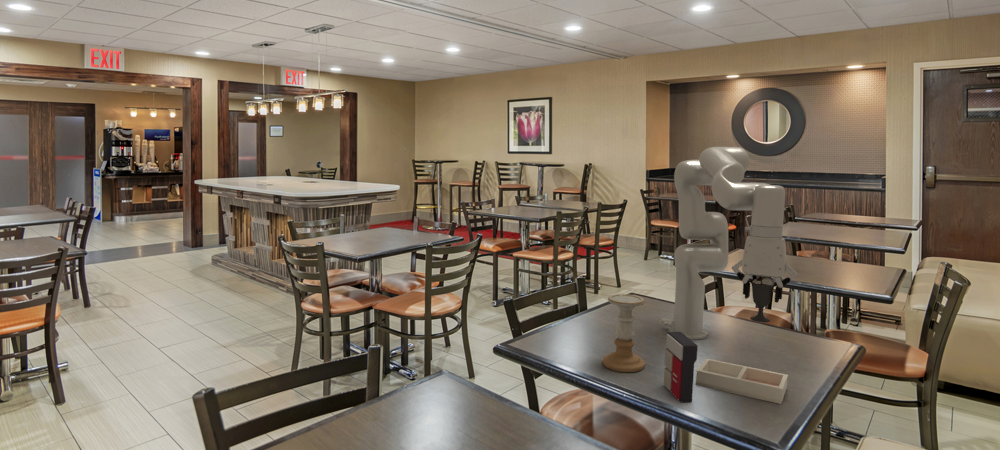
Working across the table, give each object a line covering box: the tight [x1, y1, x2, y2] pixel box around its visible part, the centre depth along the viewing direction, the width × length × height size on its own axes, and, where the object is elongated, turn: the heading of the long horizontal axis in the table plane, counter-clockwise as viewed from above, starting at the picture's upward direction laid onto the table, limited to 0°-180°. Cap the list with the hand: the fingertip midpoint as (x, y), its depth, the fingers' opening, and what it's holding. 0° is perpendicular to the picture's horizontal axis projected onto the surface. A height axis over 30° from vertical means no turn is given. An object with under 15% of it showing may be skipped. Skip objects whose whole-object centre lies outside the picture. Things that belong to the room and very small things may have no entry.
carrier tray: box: [695, 358, 789, 405], centre depth 153 cm, size 21×11×4 cm, turn 57°
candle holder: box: [601, 293, 646, 373], centre depth 166 cm, size 12×12×20 cm
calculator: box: [663, 331, 698, 403], centre depth 147 cm, size 11×4×15 cm, turn 5°
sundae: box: [749, 275, 777, 323], centre depth 150 cm, size 7×7×15 cm
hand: (761, 298), depth 150 cm, fingers closed on sundae, 6 cm apart
